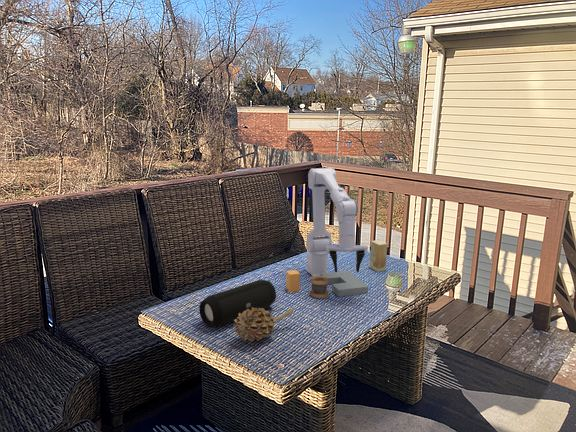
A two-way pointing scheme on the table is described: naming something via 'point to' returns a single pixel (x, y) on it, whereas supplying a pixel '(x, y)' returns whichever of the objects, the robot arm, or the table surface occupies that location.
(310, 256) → the robot arm
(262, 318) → the brown knobbly handled piece
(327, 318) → the table surface
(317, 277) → the bobbin post
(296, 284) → the orange rectangular block
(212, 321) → the portable speaker
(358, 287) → the notched board
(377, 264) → the skincare box
